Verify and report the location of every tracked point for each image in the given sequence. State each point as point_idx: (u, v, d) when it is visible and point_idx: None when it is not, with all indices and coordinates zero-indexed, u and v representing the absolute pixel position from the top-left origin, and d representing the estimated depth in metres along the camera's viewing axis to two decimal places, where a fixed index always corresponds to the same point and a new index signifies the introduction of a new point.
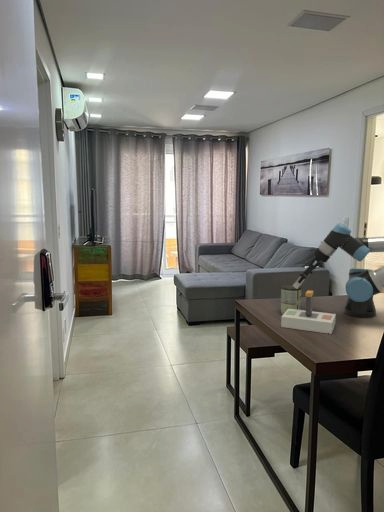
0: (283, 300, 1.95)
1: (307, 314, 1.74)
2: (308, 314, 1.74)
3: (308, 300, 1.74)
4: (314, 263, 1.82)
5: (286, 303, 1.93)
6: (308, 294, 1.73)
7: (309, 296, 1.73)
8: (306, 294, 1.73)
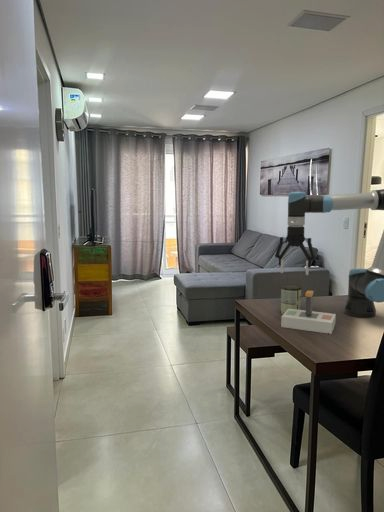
0: (283, 300, 1.95)
1: (307, 314, 1.74)
2: (308, 314, 1.74)
3: (308, 300, 1.74)
4: (310, 240, 1.72)
5: (286, 303, 1.93)
6: (308, 294, 1.73)
7: (309, 296, 1.73)
8: (306, 294, 1.73)
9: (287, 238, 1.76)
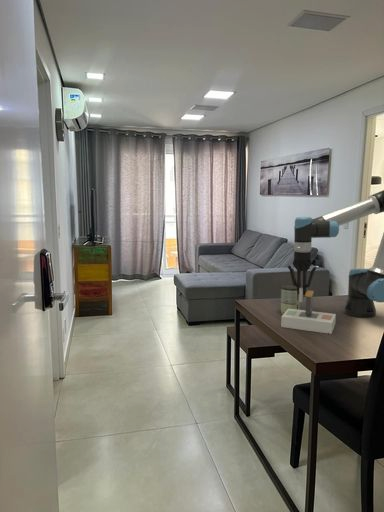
0: (283, 300, 1.95)
1: (307, 314, 1.74)
2: (308, 314, 1.74)
3: (308, 300, 1.74)
4: (315, 269, 1.73)
5: (286, 303, 1.93)
6: (308, 294, 1.73)
7: (309, 296, 1.73)
8: (306, 294, 1.73)
9: (294, 263, 1.76)
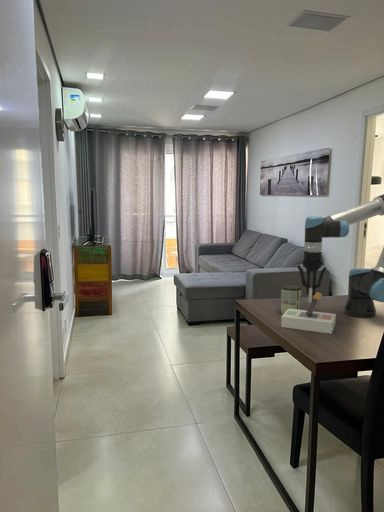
0: (283, 300, 1.95)
1: (308, 314, 1.74)
2: (309, 314, 1.74)
3: (314, 302, 1.72)
4: None
5: (286, 303, 1.93)
6: (317, 296, 1.71)
7: (317, 299, 1.71)
8: (315, 296, 1.72)
9: (304, 263, 1.74)
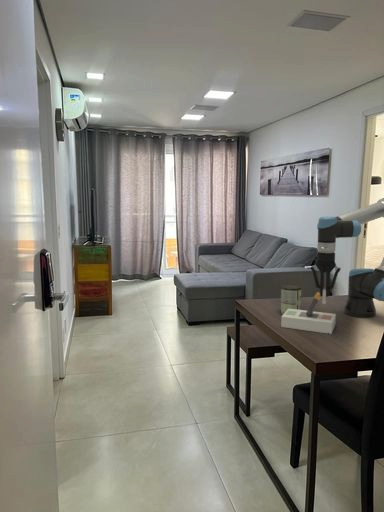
0: (283, 300, 1.95)
1: (308, 314, 1.74)
2: (309, 314, 1.74)
3: (314, 302, 1.72)
4: None
5: (286, 303, 1.93)
6: (317, 297, 1.71)
7: (317, 299, 1.71)
8: (315, 296, 1.72)
9: (317, 264, 1.71)
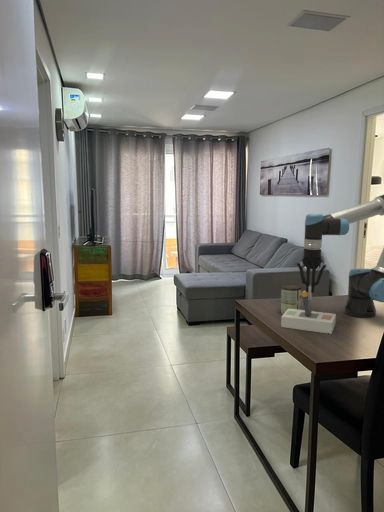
0: (283, 300, 1.95)
1: (307, 314, 1.74)
2: (308, 314, 1.74)
3: (305, 300, 1.74)
4: (324, 267, 1.71)
5: (286, 303, 1.93)
6: (304, 294, 1.74)
7: (305, 296, 1.74)
8: (302, 294, 1.74)
9: (303, 261, 1.73)
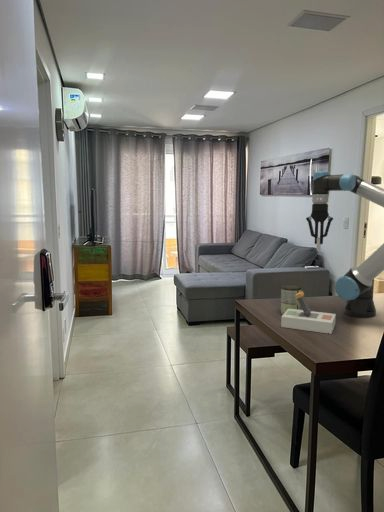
0: (283, 300, 1.95)
1: (306, 314, 1.74)
2: (307, 314, 1.74)
3: (301, 301, 1.75)
4: (331, 220, 1.87)
5: (286, 303, 1.93)
6: (298, 295, 1.75)
7: (300, 297, 1.75)
8: (296, 296, 1.75)
9: (312, 215, 1.90)
